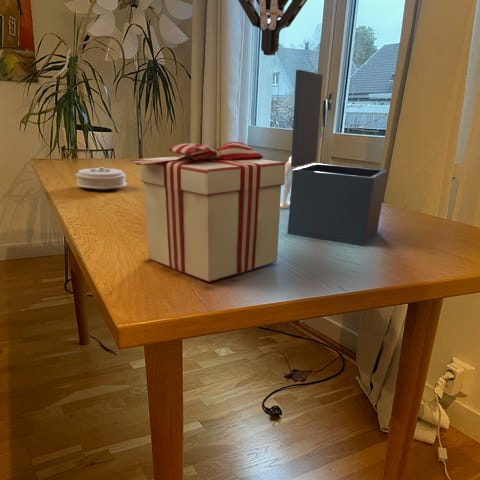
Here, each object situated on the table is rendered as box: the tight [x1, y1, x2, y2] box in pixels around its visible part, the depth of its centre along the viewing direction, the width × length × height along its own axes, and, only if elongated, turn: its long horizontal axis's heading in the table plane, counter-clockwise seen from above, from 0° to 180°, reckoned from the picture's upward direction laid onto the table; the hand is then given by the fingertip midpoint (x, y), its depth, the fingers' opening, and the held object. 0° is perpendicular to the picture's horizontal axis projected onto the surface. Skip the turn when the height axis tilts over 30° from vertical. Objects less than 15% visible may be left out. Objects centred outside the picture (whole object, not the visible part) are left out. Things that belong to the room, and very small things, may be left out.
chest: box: [286, 162, 388, 247], centre depth 91 cm, size 15×13×12 cm
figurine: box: [280, 154, 302, 209], centre depth 111 cm, size 7×4×12 cm, turn 141°
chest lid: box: [290, 69, 324, 167], centre depth 88 cm, size 16×13×1 cm
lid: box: [75, 166, 127, 191], centre depth 124 cm, size 13×13×5 cm
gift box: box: [128, 141, 286, 283], centre depth 70 cm, size 17×18×17 cm
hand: (269, 55), depth 86 cm, fingers closed
